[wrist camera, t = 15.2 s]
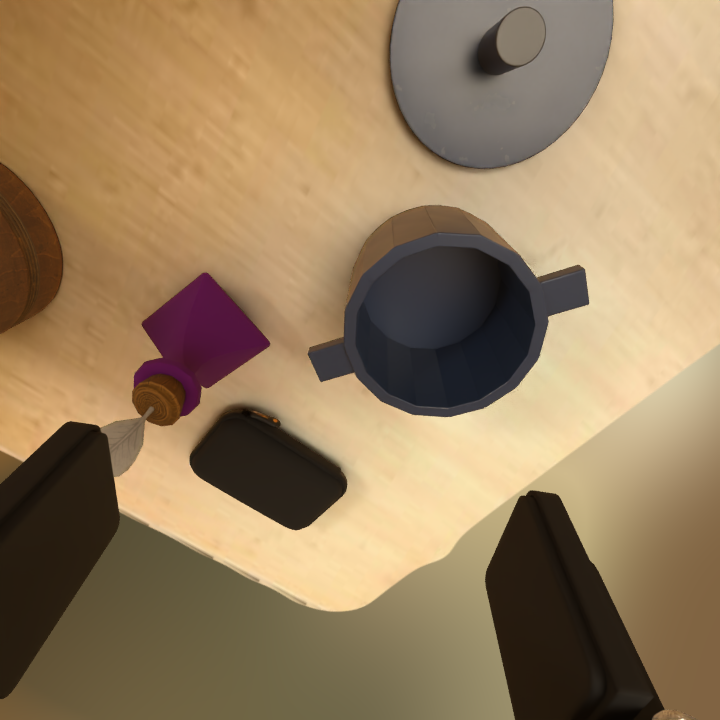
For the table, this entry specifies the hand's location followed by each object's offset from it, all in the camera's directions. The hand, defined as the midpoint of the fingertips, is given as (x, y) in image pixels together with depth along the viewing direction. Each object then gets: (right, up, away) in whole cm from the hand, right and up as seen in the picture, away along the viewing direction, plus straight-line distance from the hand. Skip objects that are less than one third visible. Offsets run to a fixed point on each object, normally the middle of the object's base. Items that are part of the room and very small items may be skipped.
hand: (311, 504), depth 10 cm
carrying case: (-8, -7, +36) cm, 37 cm away
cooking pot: (+7, +9, +26) cm, 29 cm away
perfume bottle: (-11, +7, +29) cm, 31 cm away
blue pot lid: (+10, +23, +18) cm, 31 cm away
